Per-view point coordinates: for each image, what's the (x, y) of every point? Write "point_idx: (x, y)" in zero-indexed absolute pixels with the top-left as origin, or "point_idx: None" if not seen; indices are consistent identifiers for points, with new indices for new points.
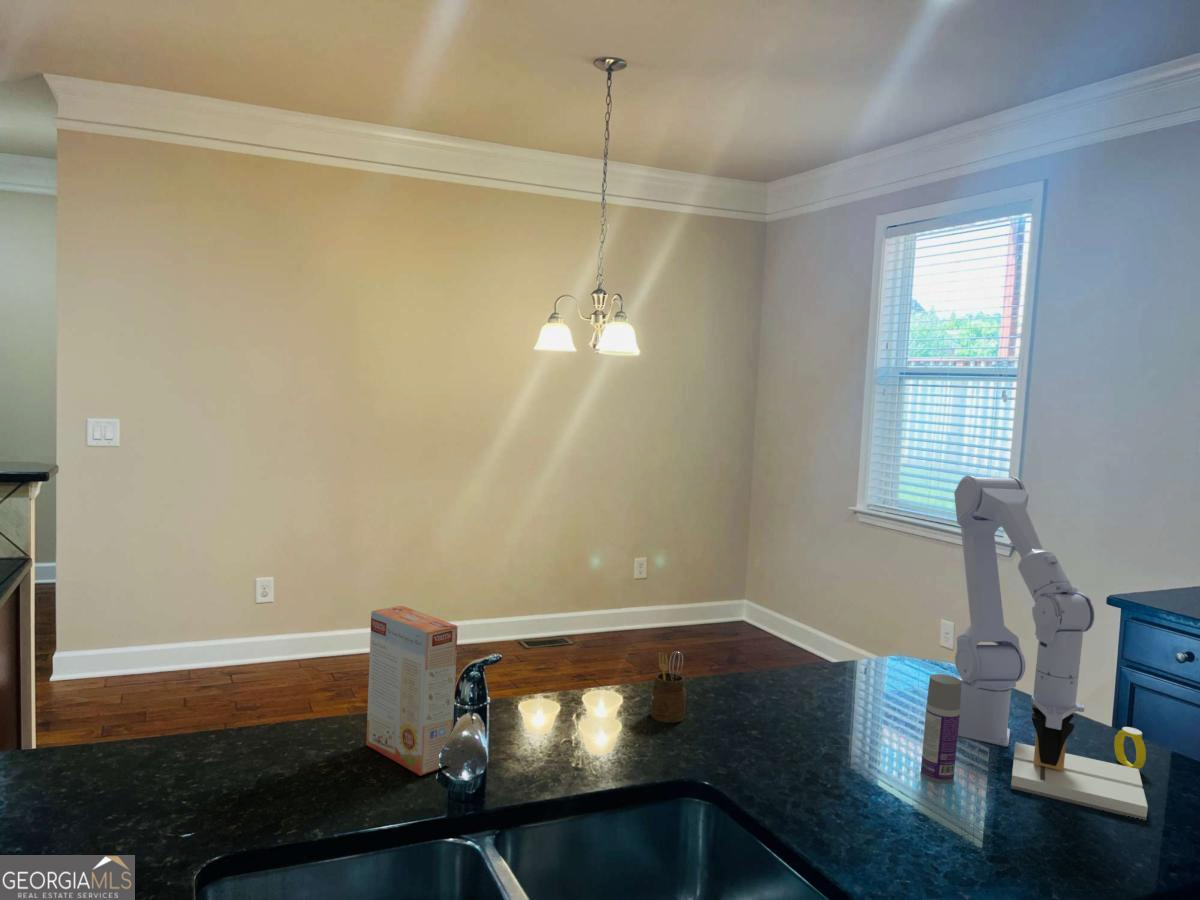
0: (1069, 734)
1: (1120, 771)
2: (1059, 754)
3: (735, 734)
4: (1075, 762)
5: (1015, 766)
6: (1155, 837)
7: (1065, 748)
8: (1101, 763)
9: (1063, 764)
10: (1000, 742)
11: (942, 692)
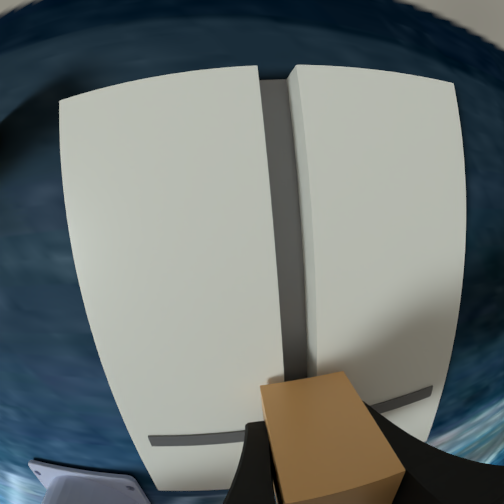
0: (497, 465)
1: (142, 159)
2: (394, 425)
3: None
4: (183, 346)
5: None
6: (487, 94)
7: (381, 433)
8: (101, 246)
9: (352, 387)
10: (135, 490)
11: None
